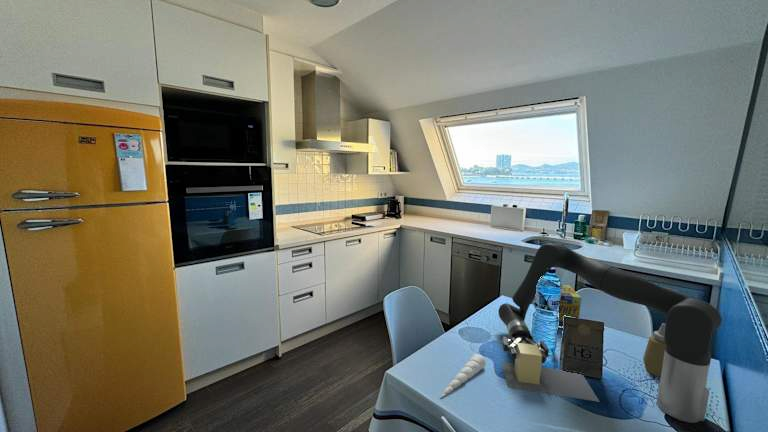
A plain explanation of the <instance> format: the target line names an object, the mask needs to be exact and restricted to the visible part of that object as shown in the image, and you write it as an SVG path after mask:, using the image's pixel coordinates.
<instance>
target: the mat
mask: <svg viewBox="0 0 768 432" xmlns="http://www.w3.org/2000/svg"><path fill="white" fill-rule="evenodd" d="M501 366H502V369H503V374H504V378H505V381H506V386H507V388H509V389H515V390H521V391H528V392H534V393H539V394H540V393H541V394H546V395H553V396H554V395H555V396H559V397H564V398H565V397H566V398H573V399H579V400H586V401H590V402H591V401H593V402H598V403H600V402H601V401H600V399H599V398H598V397H597V395H596V394H595V392H594V390H593V389H592V387H591V385H590V384H589V382H588V381H587V379H586V377H585V376H584V375H581V374H577V373H571V372H566V371H567V370H566V371H563V370H564V369H557V368H551V367H543V366H541V372H540V382H539V384H532V383H525V382H519V381H518V379H517V376H516V373H515V362H508V361H501Z"/></svg>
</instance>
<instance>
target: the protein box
mask: <svg viewBox="0 0 768 432" xmlns="http://www.w3.org/2000/svg"><path fill="white" fill-rule="evenodd" d="M560 285H561V289H562V291H561V300H560V306H559V326H561V327H562V326H563V316H564V315H566V316H571V317H576V318H579V319H580V313H581V312H580V311H581V306H582V305H581V304H582V303H581V302H582V296H580V294H579V293H577V291H575V290H574V289H573V287H572V286H571V285H566V284H560Z"/></svg>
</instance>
